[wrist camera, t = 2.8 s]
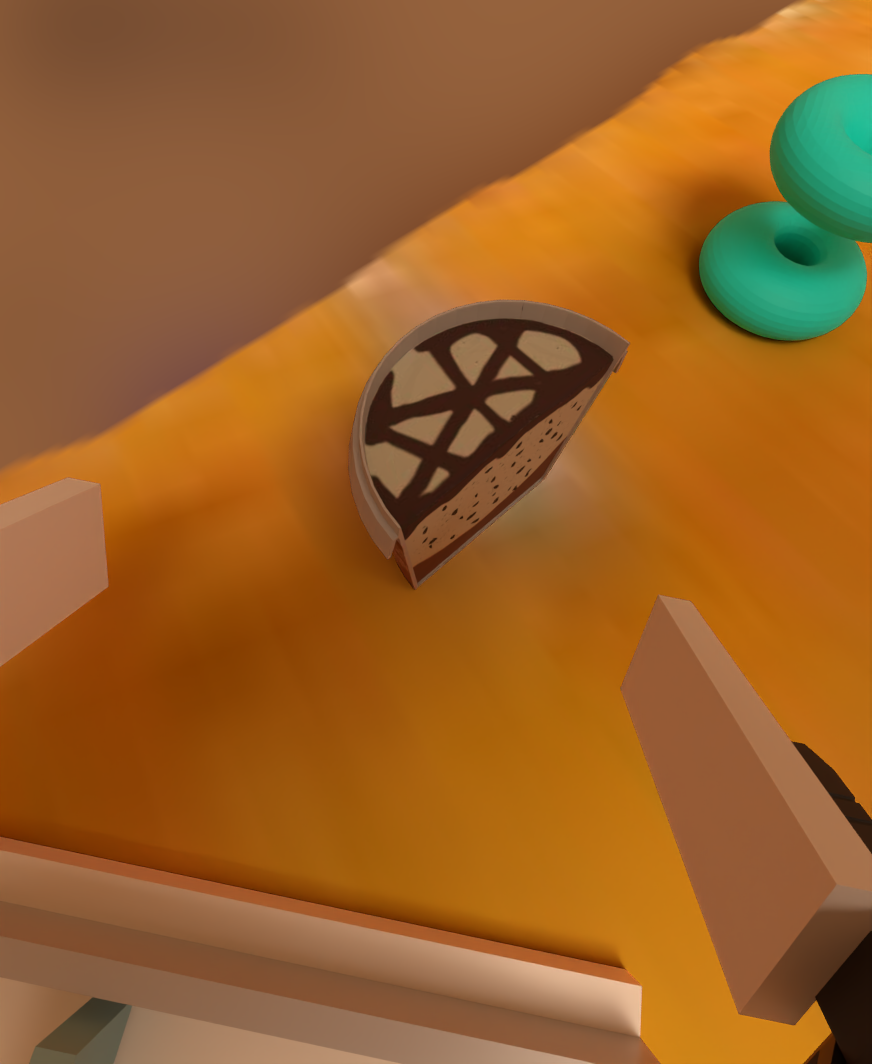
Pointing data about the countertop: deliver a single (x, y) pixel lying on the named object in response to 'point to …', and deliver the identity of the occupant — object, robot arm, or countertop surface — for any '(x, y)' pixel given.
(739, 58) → the countertop surface
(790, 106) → the donuts
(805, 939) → the robot arm
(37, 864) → the pusher lane
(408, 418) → the food container
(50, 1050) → the pusher paddle
